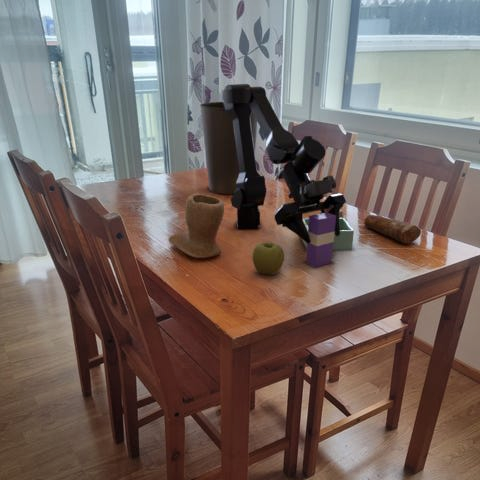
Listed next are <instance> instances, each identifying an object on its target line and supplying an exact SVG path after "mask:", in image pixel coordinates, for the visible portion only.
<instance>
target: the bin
mask: <svg viewBox="0 0 480 480" xmlns="http://www.w3.org/2000/svg"><path fill="white" fill-rule="evenodd" d="M303 222H304V225H305V227H306V229H307V231H308V227H309V217H308V218H305V217H303ZM339 226H340V235H339V236H336V235H335V234H334V242H333V251H346V250H347V251H348V250H349V251H351V250H353V242H354V232H355V231H354V229H353V228H352V226H351V225H350V224H349V222H348V220H346V218H345V217H343V218H339ZM301 240H302V242H303V244H304V248H305V249H306V250H307V242H305V241H304V240H303V239H302V238H301Z"/></svg>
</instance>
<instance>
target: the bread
mask: <svg viewBox="0 0 480 480" xmlns="http://www.w3.org/2000/svg"><path fill="white" fill-rule="evenodd" d="M363 224H364V225H365V227H367V228H368V229H369V228H370V229H371V230H374V231H375V232H378V233H379V234H382V235H384V236H386V237H389V238H391V239H393V240H395V241H398V242H399V243H402V244H410V243H414V242H415V241H416V240H418V238H420V236H421V234H422V230H421V228H420V227H419V226H417V225H415V224H412V223H409V222H405V221H400V220H398V219H393V218H388V217H385V216H381V215H375V214H369V215H367V216H366V218H365V219H364V222H363Z"/></svg>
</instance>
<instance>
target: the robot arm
mask: <svg viewBox="0 0 480 480" xmlns="http://www.w3.org/2000/svg"><path fill="white" fill-rule="evenodd" d="M221 97H222V102H224V105H225V110H226V112H227V113H228V115H229V116H230V117H231V119H232V120H233V126H234V133H235V140H236V148H237V155H238V162H239V169H240V174H239V177H238V180H237V182H236V192H235V194H232V196H231V198H230V204H231V207H233V208H235V209H236V229H238V230H252V229H255V230H256V229H260V225H261V210H260V209H259V207H260V206H262V207H263V206H264V204H265V201H266V200H265V199H266V196H267V190H268V189H267V185H266V177H265V175H261V174H260V173H259V171H258V169H257V162H256V161H257V160H256V152H255V153H254V145H253V137H252V129H251V122H250V116H251V113H252V112H253V114H254V116H255V118H256V120H257V124H258V125H259V128H260V130H261V131H262V133H263V135H264V137H265V140H266V142H265V150H266V152H267V155H268V158H269V161H270V162H271V163H272V164H273V165H282V164H285V165H284V166H282V167H280V168H279V172H278V174H277V179H278V180H284V183H285V185H286V186H287V189H288V191H289V193H288V194H287V197H288V199H289V200H290V199H292V200H293V201H292V202H288V203H283V204H282V205H281V206H280V207H279V208H278V210H276V212H275V214H274V221H275V223H276V225H277V226H282V227H283V228H287V229H288V230H290V231H291V232H293V233H294V234H295V235H297V236H298V237H299V238H300V239H301V240H302V239H303V240H304V241H305V242H307V243H310V242H311V239H310V236H309V234H308V231H307V229H306V227H305V225H304V222H303V219H304V217H303V215H304V214H309V213H313V212H318V211H319V212H320V213H325V212H327V213H330V214H332V215H335V216H336V222H335V233H334V234H335V235H336V236H339V235H340V226H339V211H340V210H342V208H343V207H344V205H345V204H346V203H347V200H346V198H345V196H344V193H343V194H342V193H335V194H331V193H333V192H334V191H333V190H334V189H336V188H337V182H336V179H335V178H334V176H333V175H331V174H330V175H326V176H325V177H322V179H320V180H314V179H310V177H309V174H310V173H312V172H313V171H314V169H315V168H316V167H317V166H318V165H319V164H320V163H321V161H322V160H323V159H324V158H325V156H326V147H325V146H324V145H322V143H321V142H320V141H318V140H317V139H313V136H312V135H304V136H303V137H302V138H301V141H300V142H299V141H298V140H297V138H295V136H294V135H293V133H291V132H290V131H288V130H287V129H285V128H284V126H283V125H282V123H281V121H280V120H279V117H278V115H277V114H276V111H275V110H274V108H273V106H272V105H271V103H270V100H269V98H268V97H267V91H266V89H265V88H264V87H262V86H251V85H250V84H249V83H237V84H236V83H235V84H227V85H226V86H225V87H224V89H223V91H222V93H221ZM327 194H330V195H328V196H327V197H326V198H325V195H327ZM324 198H325V199H324ZM323 199H324V200H323ZM321 200H323V201H321ZM303 240H302V241H303Z"/></svg>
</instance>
